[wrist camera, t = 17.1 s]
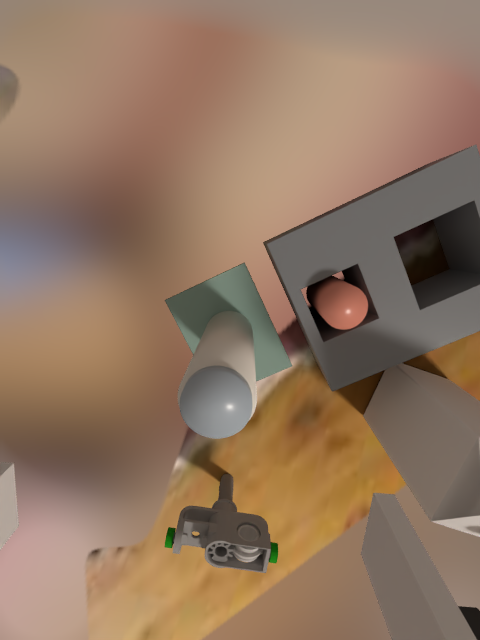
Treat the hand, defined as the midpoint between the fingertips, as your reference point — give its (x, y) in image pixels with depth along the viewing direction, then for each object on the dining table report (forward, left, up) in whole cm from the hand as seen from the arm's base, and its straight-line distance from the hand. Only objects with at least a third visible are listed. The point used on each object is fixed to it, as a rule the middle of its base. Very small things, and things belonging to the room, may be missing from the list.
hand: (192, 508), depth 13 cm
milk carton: (+15, +14, -25) cm, 32 cm away
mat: (0, 0, -25) cm, 25 cm away
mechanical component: (+16, -8, -25) cm, 31 cm away
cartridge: (0, 0, -25) cm, 25 cm away
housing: (0, +16, -25) cm, 29 cm away
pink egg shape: (0, +11, -24) cm, 26 cm away
